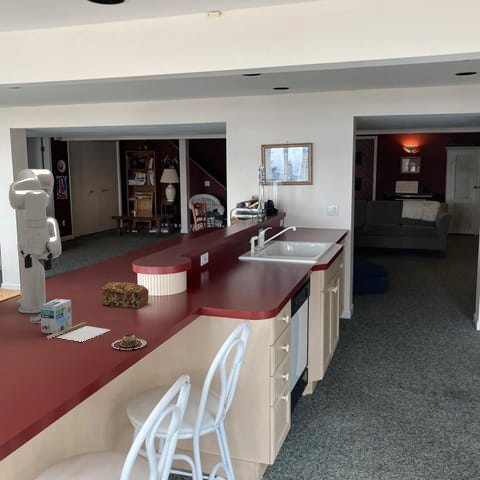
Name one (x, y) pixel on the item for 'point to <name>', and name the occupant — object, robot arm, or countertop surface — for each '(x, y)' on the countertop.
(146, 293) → the bread
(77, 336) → the white flat sheet
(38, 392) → the countertop surface
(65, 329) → the maple strip
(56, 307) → the light bulb box
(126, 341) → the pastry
